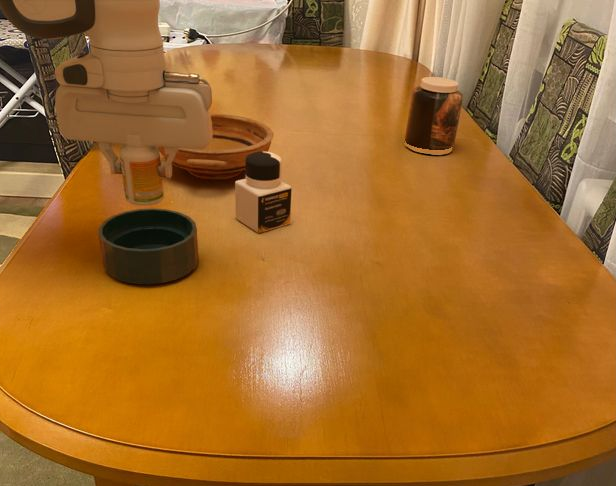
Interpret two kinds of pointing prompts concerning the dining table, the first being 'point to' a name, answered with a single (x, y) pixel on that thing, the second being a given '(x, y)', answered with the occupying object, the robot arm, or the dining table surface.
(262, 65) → the dining table surface
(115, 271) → the teal bowl
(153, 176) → the supplement bottle
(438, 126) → the jar
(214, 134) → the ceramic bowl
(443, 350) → the dining table surface
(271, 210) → the medicine bottle
